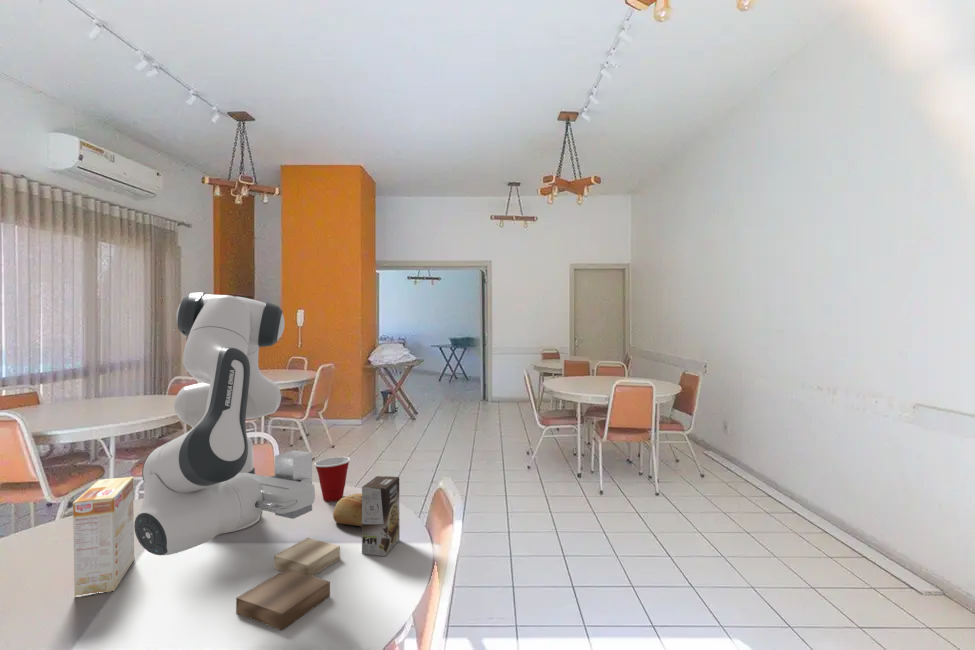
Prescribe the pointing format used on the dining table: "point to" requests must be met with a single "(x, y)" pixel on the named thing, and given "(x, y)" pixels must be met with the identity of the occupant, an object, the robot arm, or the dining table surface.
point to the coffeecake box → (103, 535)
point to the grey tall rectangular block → (294, 473)
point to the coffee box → (380, 515)
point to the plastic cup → (332, 477)
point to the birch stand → (307, 557)
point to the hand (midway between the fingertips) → (296, 479)
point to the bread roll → (349, 510)
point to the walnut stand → (283, 598)
